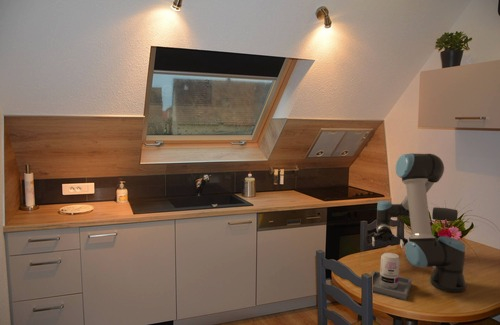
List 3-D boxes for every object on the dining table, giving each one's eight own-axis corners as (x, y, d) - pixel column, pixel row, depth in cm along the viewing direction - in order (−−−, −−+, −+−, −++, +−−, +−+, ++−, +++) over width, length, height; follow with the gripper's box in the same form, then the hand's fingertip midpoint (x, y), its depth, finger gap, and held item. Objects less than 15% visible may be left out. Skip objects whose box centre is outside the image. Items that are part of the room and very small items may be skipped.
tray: (411, 285, 178) (411, 279, 178) (405, 300, 163) (406, 294, 163) (373, 276, 187) (373, 270, 187) (364, 290, 172) (364, 284, 172)
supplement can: (390, 280, 180) (392, 251, 178) (401, 288, 172) (403, 257, 170) (375, 282, 178) (377, 252, 176) (386, 290, 170) (388, 259, 168)
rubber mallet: (452, 259, 212) (457, 208, 208) (453, 263, 205) (458, 211, 201) (428, 255, 217) (432, 205, 213) (428, 259, 210) (433, 208, 206)
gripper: (408, 241, 201) (414, 254, 180) (360, 237, 207) (361, 249, 187) (409, 228, 200) (415, 239, 179) (361, 224, 206) (362, 235, 186)
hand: (388, 244), depth 183 cm, fingers open, 13 cm apart
